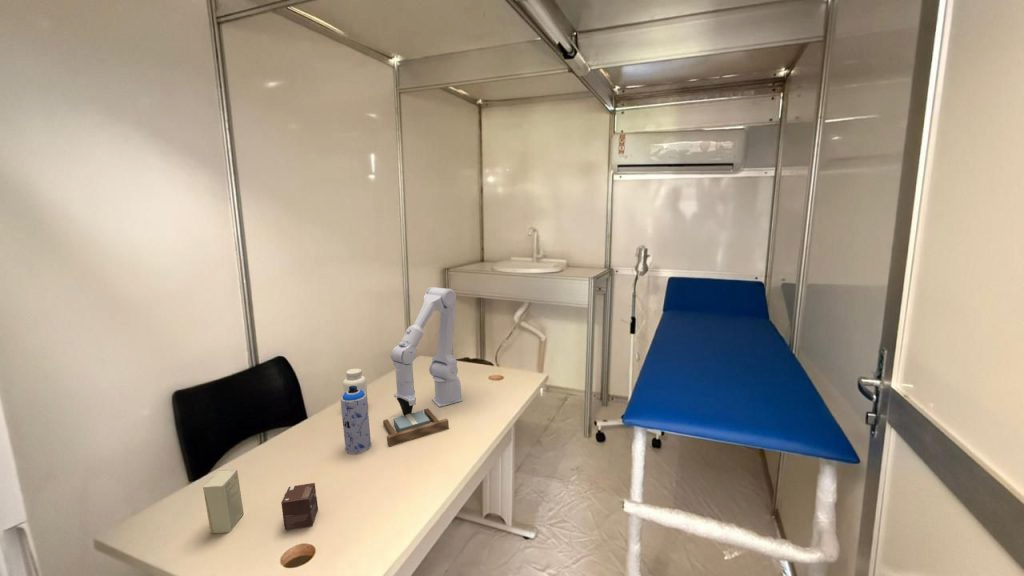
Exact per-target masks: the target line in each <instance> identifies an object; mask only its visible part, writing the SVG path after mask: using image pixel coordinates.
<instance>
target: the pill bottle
mask: <svg viewBox="0 0 1024 576" xmlns="http://www.w3.org/2000/svg"><path fill="white" fill-rule="evenodd" d="M345 374H346V375H345V378H344V380H343V381H342V388H343V394H344V393H345V392H347V391H348V390H349V387H350V386H357V389H360V390H362V391H363V392H365V393H366V395H367V396H368V390H367V389H368V386H367V380H366V377H365V376H363V373H362V369H361V368H350V369H348V370H347V371H345ZM368 400H369V399H368V397H367V404H368V405H369V402H368Z"/></svg>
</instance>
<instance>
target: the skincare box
mask: <svg viewBox="0 0 1024 576" xmlns="http://www.w3.org/2000/svg"><path fill="white" fill-rule="evenodd" d="M238 472H239V471H238V469H224V470H222V469H221V470H218V471H217V472H216V473H215V474H214V475H213V476H212V477H211V478H210V479H209V480H208V481H206V483H205V484H204V485H203V487H202V488H203V495H204V501H205V506H206V514H207V519H208V520H207V521H208V526H209V531H210V534H220V533H223V534H224V533H231V531H232V529H234V528H235V526H236V525H237V523H238V522H239V521H240V520H241V518H242V517H243V515H244V507H243V499H242V491H241V486H240V479H239V473H238Z"/></svg>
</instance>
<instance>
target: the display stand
mask: <svg viewBox="0 0 1024 576" xmlns="http://www.w3.org/2000/svg"><path fill="white" fill-rule="evenodd" d="M423 413H424V414H425V415H426V416H427V417H428V418H429V420H430V423H429V424H426V425H422V426H419V427H415V428H412V429H408V430H405V431H401V432H397V431H396V429H395V428H394V426H393V425H392V424H391V422H390V421H389V419H383V420H382V425H383V426H382V427H384V429H385V431H386V433H387V434H388V435H386V444H387V447H392V446H396V445H399V444H403V443H406V442H410V441H412V440H416V439H420V438H423V437H425V436H429V435H432V434H437V433H439V432H442V431H446V430H448V429H449V428H450V426H449V420H448V418H444V419H440V420H439V419H438V418H437V416H435V415H434V413H433V412H432V411H431V410H430V409H429V408H428V407H427V408H424V409H423Z"/></svg>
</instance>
